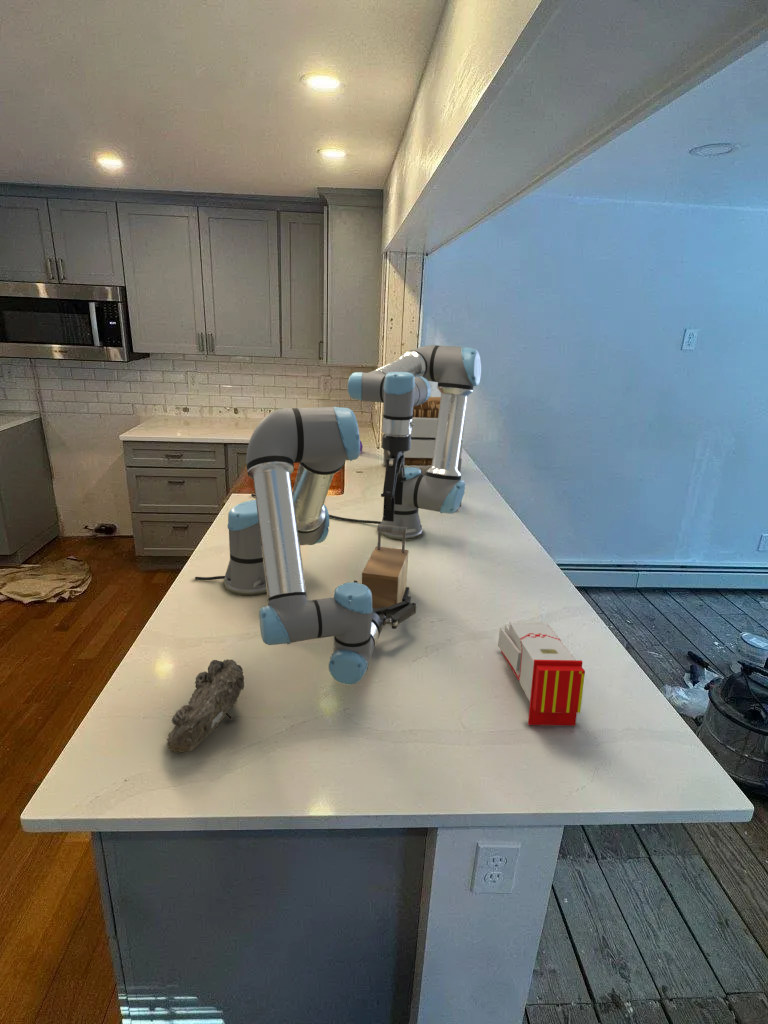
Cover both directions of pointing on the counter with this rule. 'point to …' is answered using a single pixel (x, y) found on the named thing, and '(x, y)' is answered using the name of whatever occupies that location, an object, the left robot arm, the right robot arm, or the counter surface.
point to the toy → (544, 672)
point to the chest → (387, 589)
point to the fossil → (206, 705)
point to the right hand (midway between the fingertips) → (392, 512)
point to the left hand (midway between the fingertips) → (381, 588)
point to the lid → (387, 557)
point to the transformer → (424, 435)
